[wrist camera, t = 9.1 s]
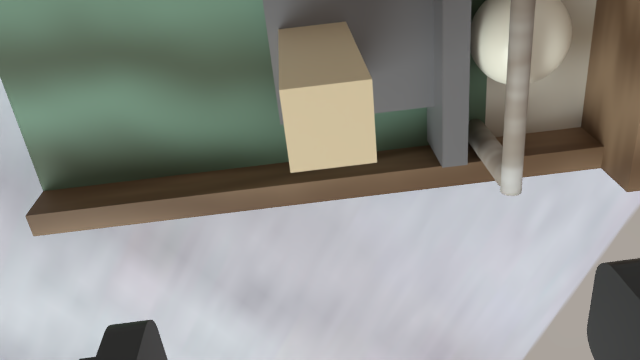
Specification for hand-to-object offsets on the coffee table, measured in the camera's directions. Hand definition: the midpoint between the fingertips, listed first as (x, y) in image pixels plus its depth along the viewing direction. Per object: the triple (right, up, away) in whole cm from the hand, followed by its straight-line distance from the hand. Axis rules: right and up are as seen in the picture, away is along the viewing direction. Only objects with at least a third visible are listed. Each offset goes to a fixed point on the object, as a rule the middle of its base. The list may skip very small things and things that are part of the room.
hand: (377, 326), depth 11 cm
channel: (-1, +10, +19) cm, 21 cm away
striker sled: (+1, +9, +17) cm, 19 cm away
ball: (+8, +9, +16) cm, 20 cm away
